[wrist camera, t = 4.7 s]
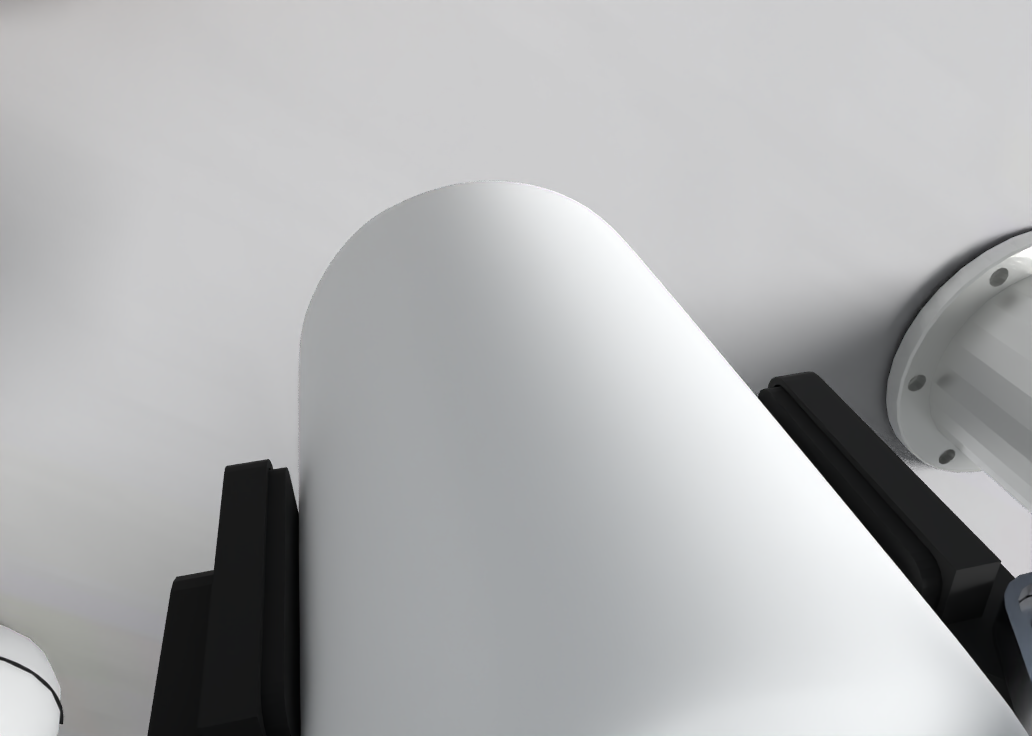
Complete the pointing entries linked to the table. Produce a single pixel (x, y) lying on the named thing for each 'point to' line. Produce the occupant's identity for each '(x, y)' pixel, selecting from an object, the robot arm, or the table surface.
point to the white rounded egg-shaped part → (27, 688)
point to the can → (576, 508)
